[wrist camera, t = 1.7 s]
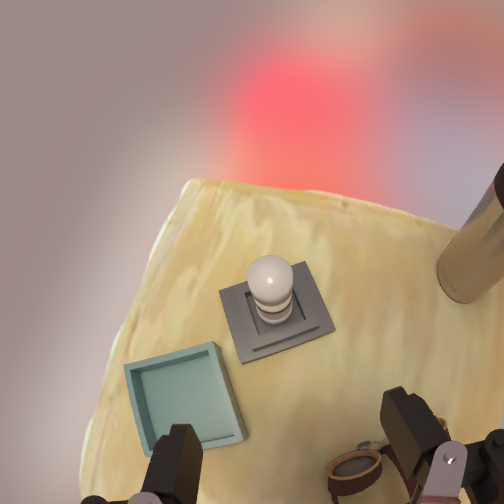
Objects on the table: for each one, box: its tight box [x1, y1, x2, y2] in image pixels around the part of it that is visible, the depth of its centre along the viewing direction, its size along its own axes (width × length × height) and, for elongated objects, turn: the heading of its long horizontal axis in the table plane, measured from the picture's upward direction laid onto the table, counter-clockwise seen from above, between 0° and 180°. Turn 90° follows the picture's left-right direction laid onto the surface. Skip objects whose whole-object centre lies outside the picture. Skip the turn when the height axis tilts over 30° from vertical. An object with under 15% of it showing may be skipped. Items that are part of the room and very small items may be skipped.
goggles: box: [326, 418, 451, 504], centre depth 19 cm, size 15×13×10 cm
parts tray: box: [124, 341, 248, 457], centre depth 29 cm, size 12×12×4 cm
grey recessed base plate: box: [219, 261, 335, 364], centre depth 34 cm, size 12×10×2 cm
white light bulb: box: [247, 255, 293, 326], centre depth 30 cm, size 4×4×10 cm
